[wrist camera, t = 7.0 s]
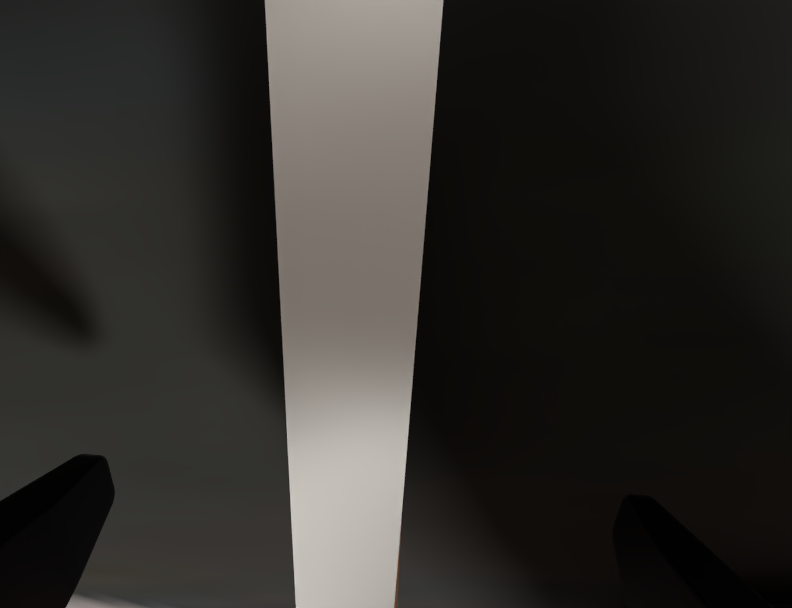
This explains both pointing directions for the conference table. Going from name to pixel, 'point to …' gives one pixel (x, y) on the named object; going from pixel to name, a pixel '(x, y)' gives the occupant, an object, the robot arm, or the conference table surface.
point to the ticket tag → (350, 275)
